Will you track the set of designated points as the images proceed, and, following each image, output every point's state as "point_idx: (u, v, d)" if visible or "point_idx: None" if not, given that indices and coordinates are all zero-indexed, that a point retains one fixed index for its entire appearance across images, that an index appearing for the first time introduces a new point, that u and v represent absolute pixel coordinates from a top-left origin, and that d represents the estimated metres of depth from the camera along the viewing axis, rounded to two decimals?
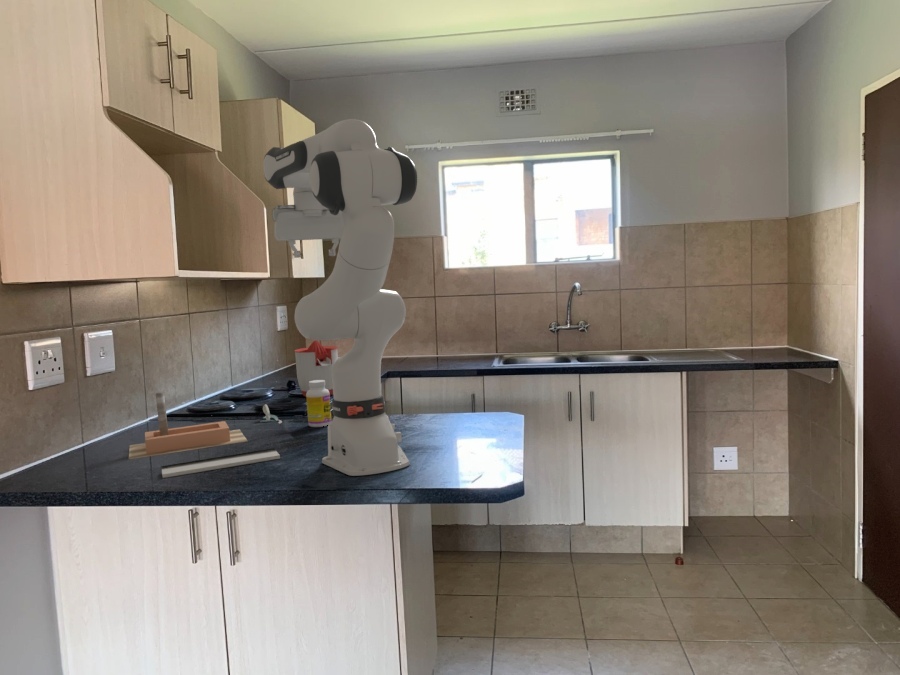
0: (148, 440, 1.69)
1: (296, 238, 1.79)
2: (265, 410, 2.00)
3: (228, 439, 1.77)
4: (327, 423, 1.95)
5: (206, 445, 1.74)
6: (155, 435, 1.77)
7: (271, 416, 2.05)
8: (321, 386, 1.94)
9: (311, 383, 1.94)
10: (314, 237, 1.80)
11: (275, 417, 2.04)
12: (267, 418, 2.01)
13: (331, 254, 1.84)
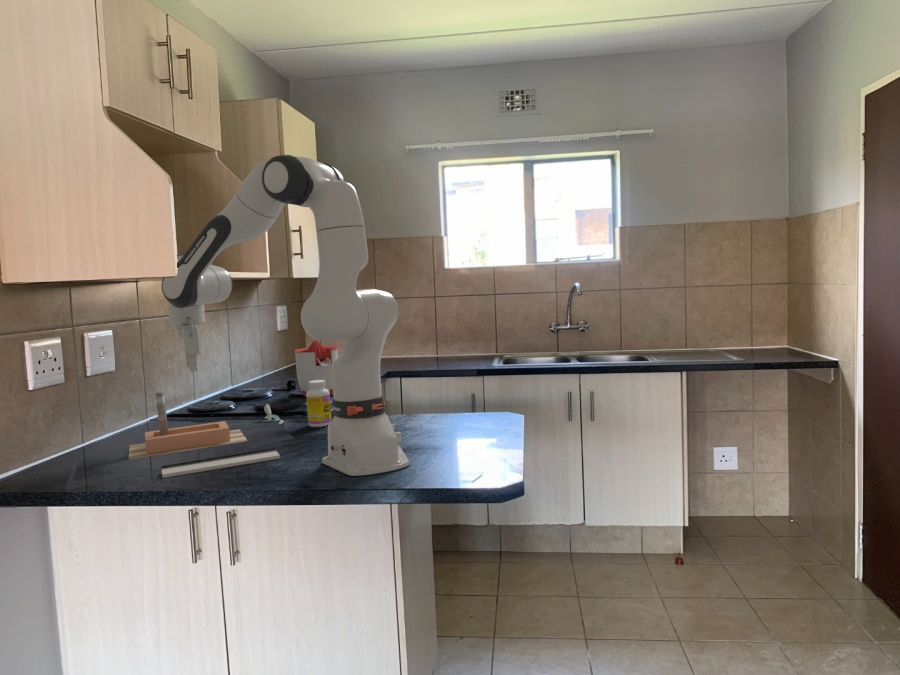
0: (148, 440, 1.69)
1: None
2: (267, 410, 2.00)
3: (228, 439, 1.77)
4: (327, 423, 1.95)
5: (206, 445, 1.74)
6: (155, 435, 1.77)
7: (273, 416, 2.05)
8: (321, 386, 1.94)
9: (311, 383, 1.94)
10: None
11: (277, 417, 2.04)
12: (269, 418, 2.01)
13: None
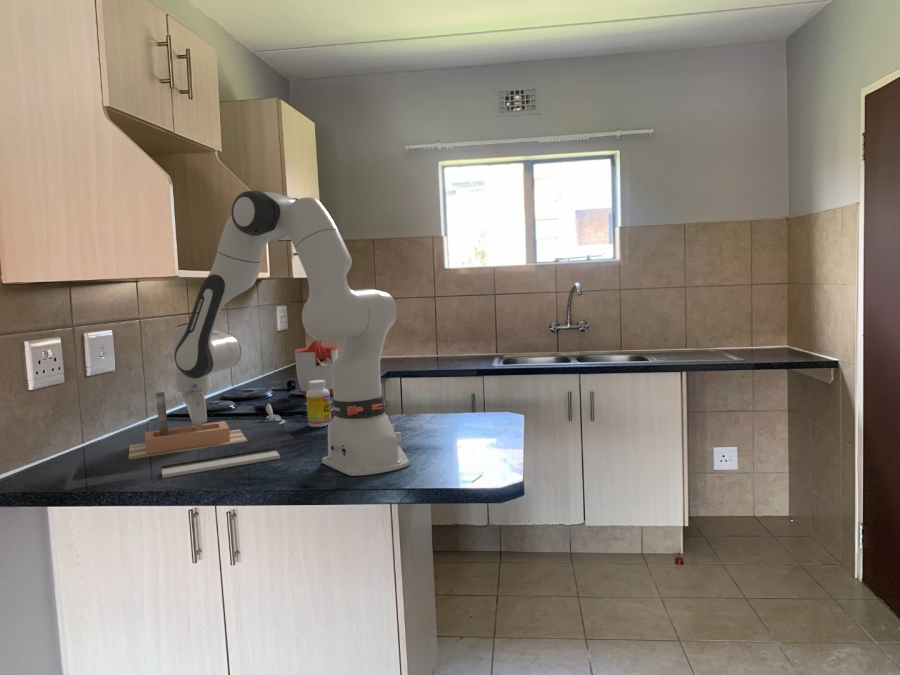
0: (148, 440, 1.69)
1: None
2: (268, 410, 2.00)
3: (228, 439, 1.77)
4: (327, 423, 1.95)
5: (206, 445, 1.74)
6: (155, 435, 1.77)
7: (274, 416, 2.05)
8: (321, 386, 1.94)
9: (311, 383, 1.94)
10: None
11: (278, 417, 2.04)
12: (270, 418, 2.01)
13: None
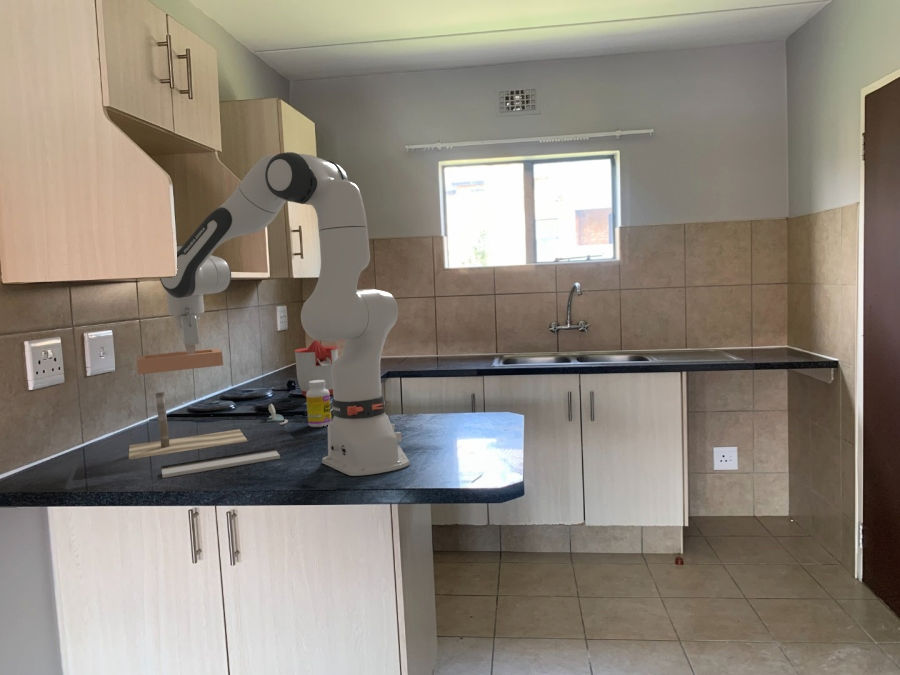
0: (140, 361, 1.67)
1: None
2: (271, 410, 2.00)
3: (221, 363, 1.75)
4: (327, 423, 1.95)
5: (206, 445, 1.74)
6: (147, 359, 1.75)
7: (277, 415, 2.05)
8: (321, 386, 1.94)
9: (311, 383, 1.94)
10: None
11: (281, 416, 2.04)
12: (273, 418, 2.01)
13: None
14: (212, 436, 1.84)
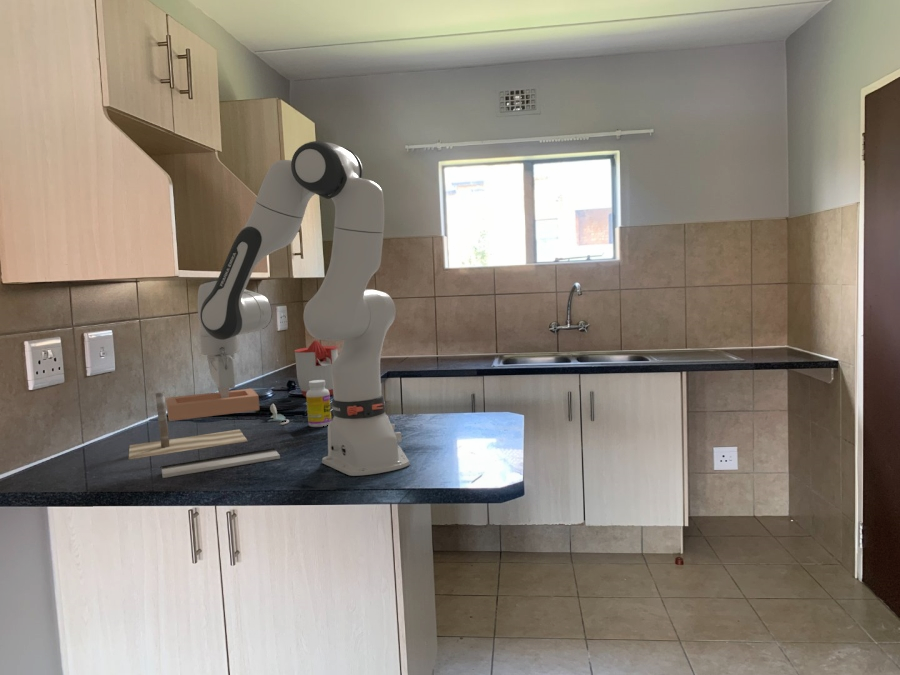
0: (171, 406, 1.54)
1: None
2: (272, 409, 2.00)
3: (257, 408, 1.62)
4: (327, 423, 1.95)
5: (206, 445, 1.74)
6: (177, 401, 1.62)
7: (278, 415, 2.05)
8: (321, 386, 1.94)
9: (311, 383, 1.94)
10: None
11: (282, 416, 2.04)
12: (274, 417, 2.01)
13: None
14: (212, 436, 1.84)
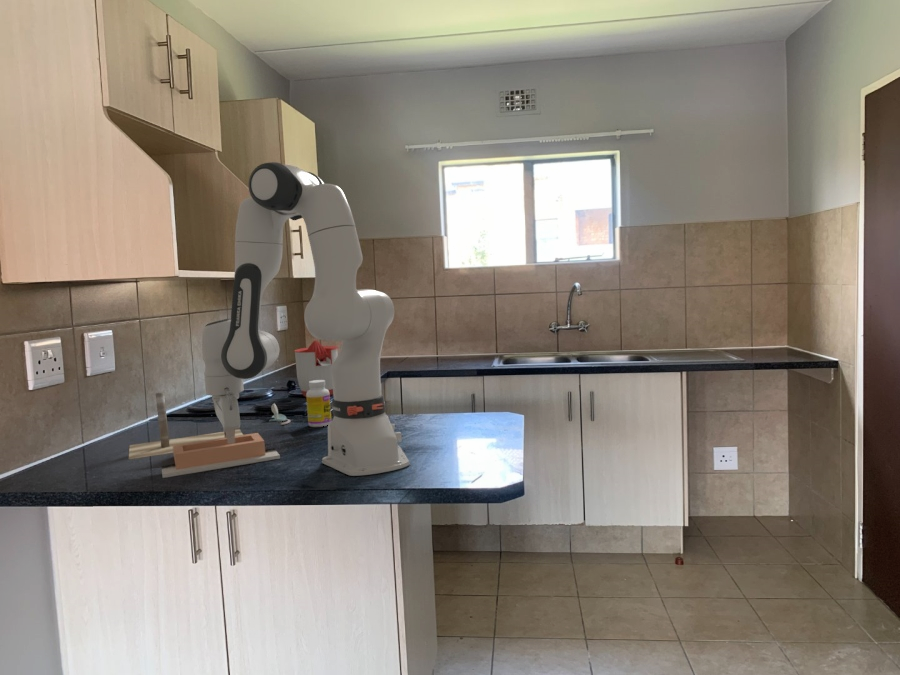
0: (178, 455, 1.55)
1: None
2: (274, 409, 2.00)
3: (263, 453, 1.63)
4: (327, 423, 1.95)
5: None
6: (184, 449, 1.63)
7: (279, 415, 2.05)
8: (321, 386, 1.94)
9: (311, 383, 1.94)
10: None
11: (283, 416, 2.04)
12: (276, 417, 2.01)
13: None
14: (212, 436, 1.84)
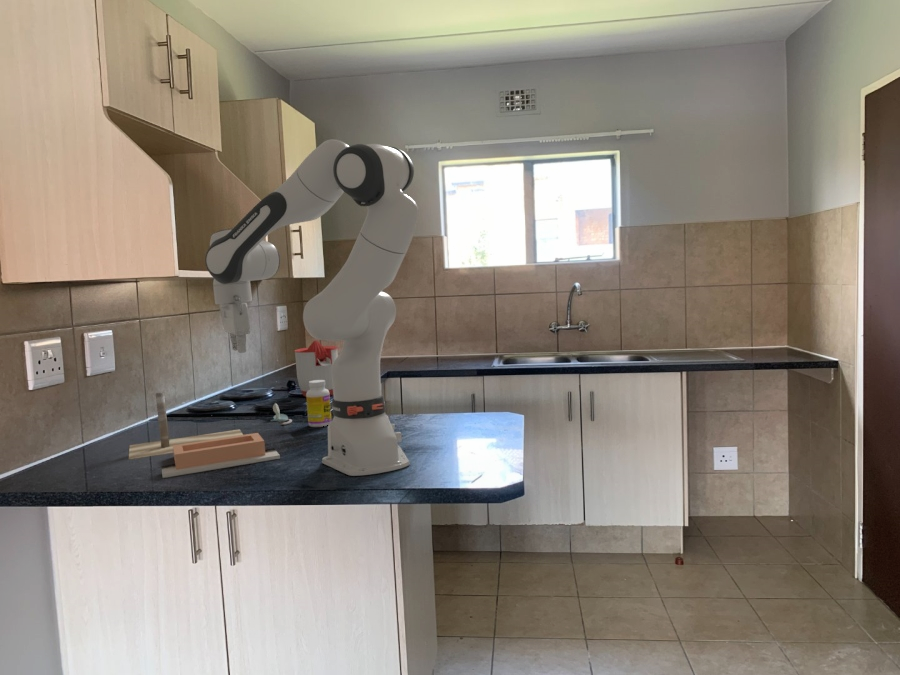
0: (178, 455, 1.55)
1: None
2: (275, 409, 2.00)
3: (263, 453, 1.63)
4: (327, 423, 1.95)
5: None
6: (184, 449, 1.63)
7: (281, 415, 2.05)
8: (321, 386, 1.94)
9: (311, 383, 1.94)
10: None
11: (285, 416, 2.04)
12: (277, 417, 2.01)
13: None
14: (212, 436, 1.84)
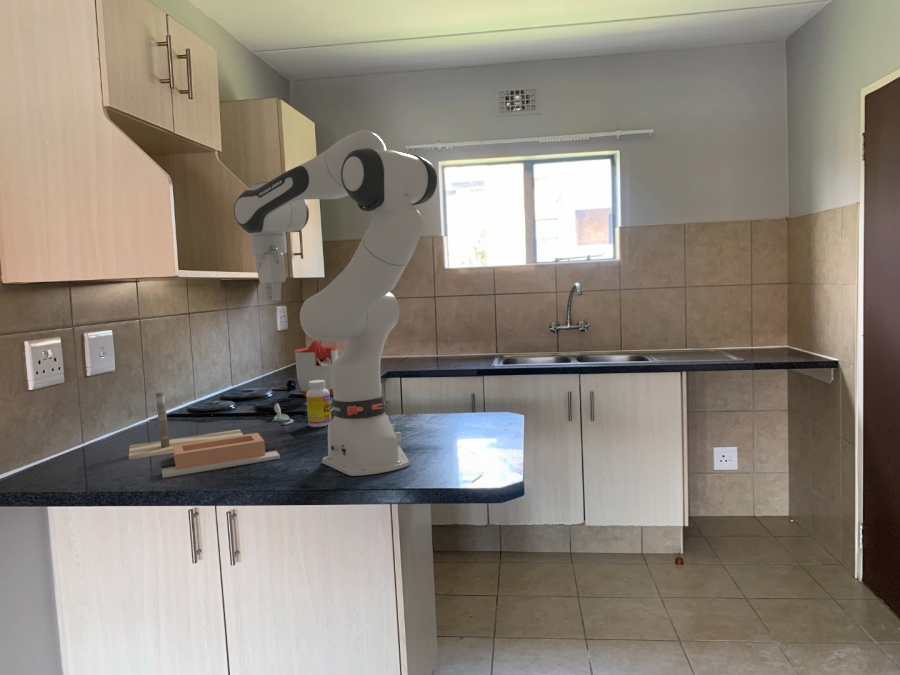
0: (178, 455, 1.55)
1: None
2: (277, 409, 2.00)
3: (263, 453, 1.63)
4: (327, 423, 1.95)
5: None
6: (184, 449, 1.63)
7: (282, 415, 2.05)
8: (321, 386, 1.94)
9: (311, 383, 1.94)
10: None
11: (286, 416, 2.04)
12: (279, 417, 2.01)
13: None
14: (212, 436, 1.84)
